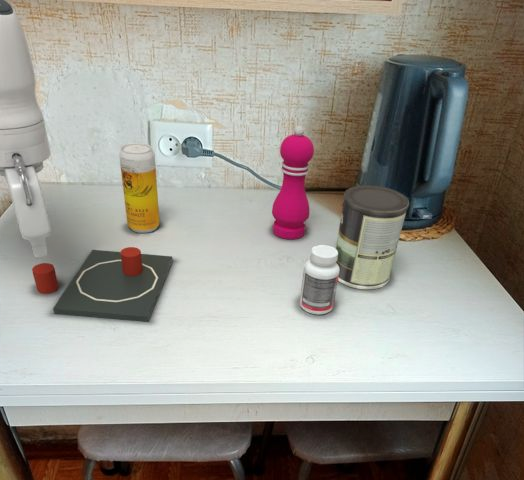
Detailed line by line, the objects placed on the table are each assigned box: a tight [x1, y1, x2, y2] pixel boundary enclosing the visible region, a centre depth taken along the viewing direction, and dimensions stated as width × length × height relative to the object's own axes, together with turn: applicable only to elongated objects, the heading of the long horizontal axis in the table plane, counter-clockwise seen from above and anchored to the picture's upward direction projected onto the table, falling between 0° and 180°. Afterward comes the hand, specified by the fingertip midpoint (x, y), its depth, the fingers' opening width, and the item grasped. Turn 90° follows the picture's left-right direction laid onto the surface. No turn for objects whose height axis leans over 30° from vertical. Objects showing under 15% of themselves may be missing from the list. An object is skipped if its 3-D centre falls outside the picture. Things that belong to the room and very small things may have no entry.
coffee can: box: [335, 184, 410, 291], centre depth 85 cm, size 10×10×14 cm
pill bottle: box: [299, 244, 340, 315], centre depth 78 cm, size 5×5×10 cm
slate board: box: [52, 249, 174, 323], centre depth 82 cm, size 14×18×1 cm
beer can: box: [118, 142, 161, 234], centre depth 94 cm, size 6×6×15 cm
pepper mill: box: [271, 125, 315, 240], centre depth 94 cm, size 7×7×20 cm
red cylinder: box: [119, 246, 143, 276], centre depth 83 cm, size 3×3×4 cm
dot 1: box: [31, 262, 60, 295], centre depth 79 cm, size 3×3×4 cm
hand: (36, 239), depth 75 cm, fingers open, 8 cm apart
